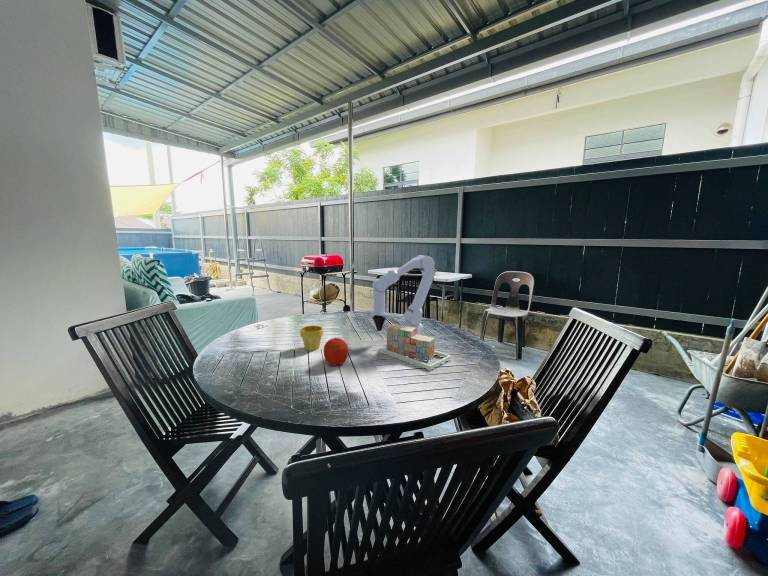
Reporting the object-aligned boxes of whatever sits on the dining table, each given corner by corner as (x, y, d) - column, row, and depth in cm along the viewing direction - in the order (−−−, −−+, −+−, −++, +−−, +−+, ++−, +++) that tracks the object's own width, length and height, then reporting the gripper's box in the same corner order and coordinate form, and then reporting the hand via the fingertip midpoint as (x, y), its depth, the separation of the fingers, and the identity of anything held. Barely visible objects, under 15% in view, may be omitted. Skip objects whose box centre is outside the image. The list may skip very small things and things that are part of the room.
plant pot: (310, 354, 140) (310, 333, 138) (296, 348, 146) (295, 328, 144) (327, 347, 148) (327, 328, 146) (313, 342, 154) (313, 324, 153)
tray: (400, 343, 155) (400, 339, 155) (450, 359, 135) (451, 355, 135) (378, 351, 144) (378, 347, 143) (430, 370, 124) (430, 366, 124)
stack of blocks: (434, 357, 138) (435, 331, 136) (428, 362, 133) (429, 335, 131) (393, 348, 149) (393, 323, 147) (386, 352, 144) (386, 326, 142)
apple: (324, 369, 124) (324, 342, 122) (322, 360, 134) (322, 334, 132) (349, 367, 127) (349, 340, 125) (346, 357, 136) (345, 332, 134)
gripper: (363, 302, 153) (363, 328, 155) (384, 307, 143) (384, 335, 145) (373, 300, 158) (373, 326, 160) (394, 304, 148) (394, 332, 150)
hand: (379, 330), depth 153 cm, fingers closed
